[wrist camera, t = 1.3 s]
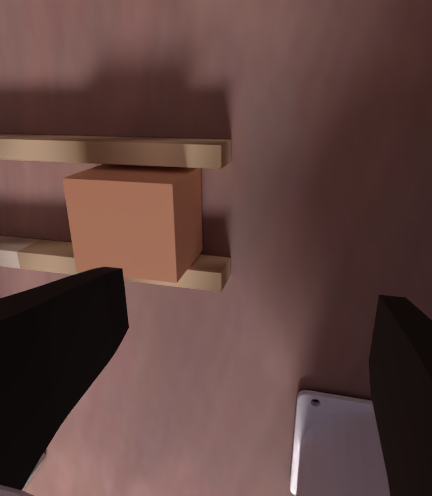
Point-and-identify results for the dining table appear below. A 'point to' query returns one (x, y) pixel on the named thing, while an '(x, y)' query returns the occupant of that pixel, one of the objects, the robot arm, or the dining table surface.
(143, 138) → the chute
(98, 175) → the block
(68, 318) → the robot arm
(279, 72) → the dining table surface
